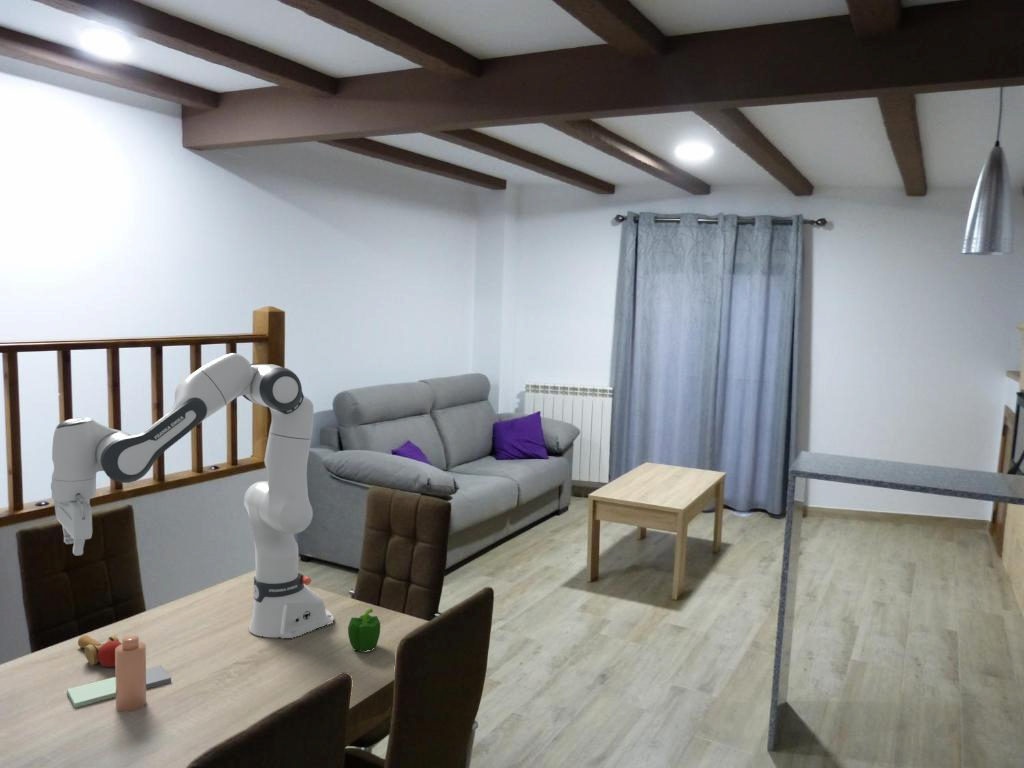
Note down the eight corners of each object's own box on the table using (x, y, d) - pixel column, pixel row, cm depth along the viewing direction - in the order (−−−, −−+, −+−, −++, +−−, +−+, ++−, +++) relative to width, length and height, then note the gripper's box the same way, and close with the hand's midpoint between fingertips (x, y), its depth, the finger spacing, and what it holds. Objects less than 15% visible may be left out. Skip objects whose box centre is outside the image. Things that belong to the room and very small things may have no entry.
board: (161, 669, 191) (161, 665, 190) (171, 681, 185) (171, 677, 185) (67, 693, 178) (67, 689, 178) (74, 707, 172) (74, 703, 172)
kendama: (65, 658, 197) (99, 671, 186) (68, 631, 198) (101, 643, 187) (97, 653, 203) (131, 666, 192) (99, 628, 204) (134, 639, 193)
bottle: (141, 694, 179) (141, 630, 177) (149, 706, 174) (149, 640, 172) (112, 702, 175) (111, 637, 173) (120, 714, 170) (119, 647, 169)
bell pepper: (359, 659, 200) (360, 621, 199) (342, 647, 206) (342, 610, 205) (387, 650, 206) (388, 613, 205) (370, 638, 212) (371, 602, 211)
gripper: (100, 498, 175) (99, 559, 176) (79, 479, 190) (78, 535, 192) (68, 501, 171) (67, 564, 172) (49, 481, 186) (48, 538, 188)
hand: (73, 548), depth 182 cm, fingers open, 8 cm apart
